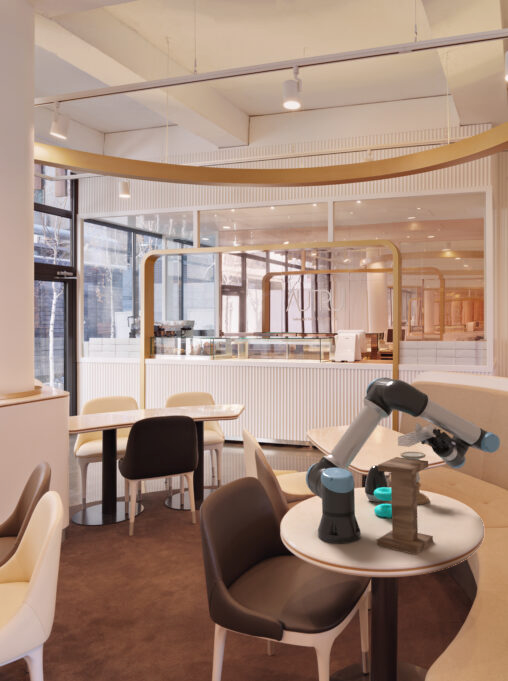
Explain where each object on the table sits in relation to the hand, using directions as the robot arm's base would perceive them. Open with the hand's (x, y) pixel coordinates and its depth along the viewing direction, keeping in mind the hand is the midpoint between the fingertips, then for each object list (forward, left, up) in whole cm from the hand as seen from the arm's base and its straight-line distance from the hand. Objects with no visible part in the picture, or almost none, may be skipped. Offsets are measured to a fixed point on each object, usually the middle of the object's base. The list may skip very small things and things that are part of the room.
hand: (422, 426), depth 211 cm
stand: (-15, -9, -38) cm, 42 cm away
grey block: (-4, -2, -4) cm, 6 cm away
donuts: (-3, +20, -38) cm, 43 cm away
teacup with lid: (+12, +47, -38) cm, 62 cm away
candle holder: (+18, +31, -38) cm, 53 cm away
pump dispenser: (+4, +38, -38) cm, 54 cm away
